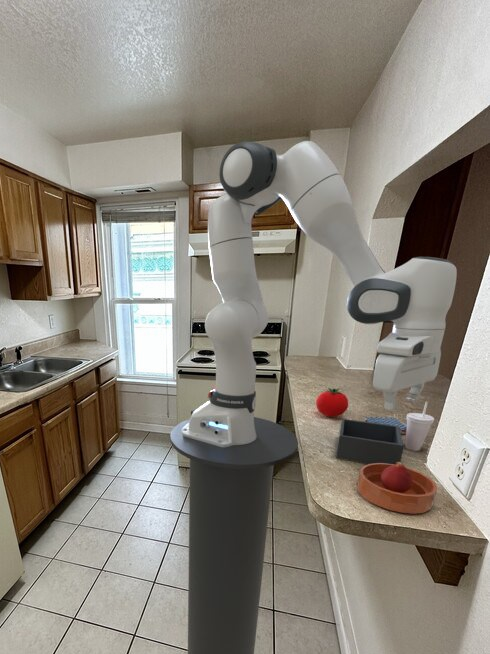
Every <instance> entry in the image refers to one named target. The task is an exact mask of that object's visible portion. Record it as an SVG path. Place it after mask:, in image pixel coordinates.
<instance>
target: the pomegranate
mask: <svg viewBox="0 0 490 654" xmlns="http://www.w3.org/2000/svg"><path fill="white" fill-rule="evenodd" d="M406 467H407V466H404V464H403V462H401V461H400V462H396V465H392V466H390V467H388V468H386V469H385V470H384V471H383V473H382V475H381V482H382V485H383V486H384V488H385V489H387V490H390V491H393V492H397V493H402V494H403V493H405V492H407V491H408V490H409V489H410V488H411V486H412V484H413V478H412V475H411V473H410V472H409V470H408V469H407V468H408V467H407V468H406Z"/></svg>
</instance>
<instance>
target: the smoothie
mask: <svg viewBox="0 0 490 654" xmlns="http://www.w3.org/2000/svg"><path fill="white" fill-rule="evenodd" d="M428 404H429V402H428V401H425V403H424V406H423V410H422V413H420V412H409V413H407V414H406V417H405V418H406V426H407V429H406V434H405V443H404V448H405V449H407V450H410V451H413V452H414V451H417V452H418V451H419V452H420V451H421V449H422V447H423V445H424V442H425V440H426V437H427V436H428V433H429V431H430V429H431V426H432V424H434V422H435V418H434V416H432V415H430V414H426V411H427V407H428Z"/></svg>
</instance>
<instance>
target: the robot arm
mask: <svg viewBox="0 0 490 654" xmlns="http://www.w3.org/2000/svg"><path fill="white" fill-rule="evenodd" d="M218 174H219V175H218V176H219V181H220V184H221V187H222V189H223V190H224V192H225V194H223V195H221V196H219V197H218V198H216V199H214V200H213V202H211V204H210V205H209V208H208V212H207V213H208V215H207V242H208V251H209V260H210V268H211V276H212V280H213V281H212V282H213V283H214V284H215V286H216V287H217V289H218V291H219V294H220V297H221V300H222V302H221V303H219V304H217V305H216V306H214V307H213V308H212V309H210V311H209V312H208V314H207V315H206V317H205V321H204V329H205V333H206V335H207V338H209V340H210V341H211V345H212V347H213V353H214V359H215V370H216V371H215V386H213V387H212V388H211V390H210V391H209V393H207V398H208V399H209V400H208V401H206V402H205V403H203V404H202V405H200V406H199V407H198V408H196V409H194V410H191V411H190V417H189V419H190V422H189V423H188V424H186V425H185V426H184V427H183V429H182V436H185V437H188V438H192V439H195V440H199V441H202V442H206V443H209V444H212V445H216V446H219V447H229V446H233V445H243V444H248V443H251V442H253V441H255V440H256V438H257V436H256V431H255V426H254V417H255V409H256V404H257V403H256V402H257V396H256V395H257V393H256V390H255V389H256V379H257V378H256V376H257V362H256V360H255V358H254V353H253V346H252V344H253V343H252V341H253V339H255V338H256V337H258V336H260V335H261V334H262V332H263V331H264V330H265V329H266V327H267V325H268V323H269V311H268V309H267V308H266V306H265V303H264V299H263V295H262V290H261V287H260V283H259V280H258V276H257V270H256V262H255V252H254V251H255V250H254V240H253V231H252V219H253V216H259V215H262V213H265V211H267V210H268V209H270V208H272V207H273V206H275V205H276V204H278V203H279V202H281V200H282V201H283V202H284V203H285V205H286V207H287V208H288V210H289V212H290V214H291V217H293V219H294V221H295V223H296V224H297V226H298V227H299V228H300V229H301V230H302V231H303V233H304V234H305V235H306V236H307V237H308V238H309V239H310V240H312V241H313V242H315V243H317V244H319V245H320V246H322V247H323V248H325V249H326V250H328V251H329V252H330V253H331V254H332V255H334V257H336V259H337V260H338V262H339V263H340V265H341V267H342V269H343V270H344V272H345V274H346V276H347V277H348V278H349V280H350V282H351V284H352V286H353V288H352V289H351V291H350V292H349V294H348V295H347V299H346V309H347V313H348V314H349V316H350V317H351V318H352V319H353V320H354V321H356V322H358V323H360V324H363V325H376V324H381V323H386V322H392V323H393V325H392V331H391V332H390V333H389V334H388V335H387V336H386V337H384V338H383V339H382V340H380V341H379V342H378V344H377V347H376V352H377V353H379V354H378V356H377V358H376V362H375V365H374V372H373V378H372V386H373V389H374V390H375V391H378V392H382V395H383V400H384V405H383V408H384V409H385V410H387V411H393V410H395V409H396V408H397V404H398V401H397V400H396V396H398V392H399V391H402V390H406V389H408V388H410V389H409V392H407V394H406V400H405V401H406V402H408V403H415V402H416V403H417V402H418V401H419V397H420V394H421V393H422V391H423V389H424V387H425V384H426V383H428V382H431V381H434V380H435V379H436V377H437V375H438V373H439V368H440V364H441V357H442V349H441V347H442V344H443V339H444V335H445V332H446V327H447V326H446V325H447V323H446V317H447V314H448V311H449V310H450V308H451V306H452V304H453V299H454V295H455V290H456V284H457V276H458V275H457V273H458V272H457V271H458V269H457V266H455V264H454V263H453V262H452V261H450V260H448V259H446V258H440V257H432V256H416V257H412V258H411V259H410V260H408V261H407V262H405V263H403V264H402V265H400V266H397V267H396V268H393V269H391V270H389V271H385V270H384V269H383V268H382V267H381V265H380V263H379V262H378V260H377V258H376V256H375V255H374V253H373V251H372V250H371V248H370V247H369V245H368V243H367V241H366V240H365V238H364V235H363V234H362V233H363V232H362V231H361V228H360V224H359V221H358V217H357V214H356V211H355V207H354V203H353V200H352V197H351V194H350V192H349V190H348V187H347V185H346V182H345V181H344V179H343V177H342V175H341V174H340V173H339V170H338V169H337V167H336V166H335V164H334V163H333V161H332V160H331V159H330V157H329V156H328V155H327V154H326V153H325V151H324V150H323V149H322V148H321V147H320V146H319V145H318V144H317V143H315V142H314V141H311V140H303V141H300V142H298V143H296V144H294V145H293V146H291V147H290V148H289V149H288V150H286V152H284V153H282V154H277V153H276V149H274V148H272V147H270V146H267V145H264V144H261V143H259V142H256V141H247V140H246V141H240V142H236V143H234V144H233V145H232V146H231V147H230V148H229V149H227V151H226V152H225V153H224V156H223V157H222V160H221V162H220V165H219V173H218Z"/></svg>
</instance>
